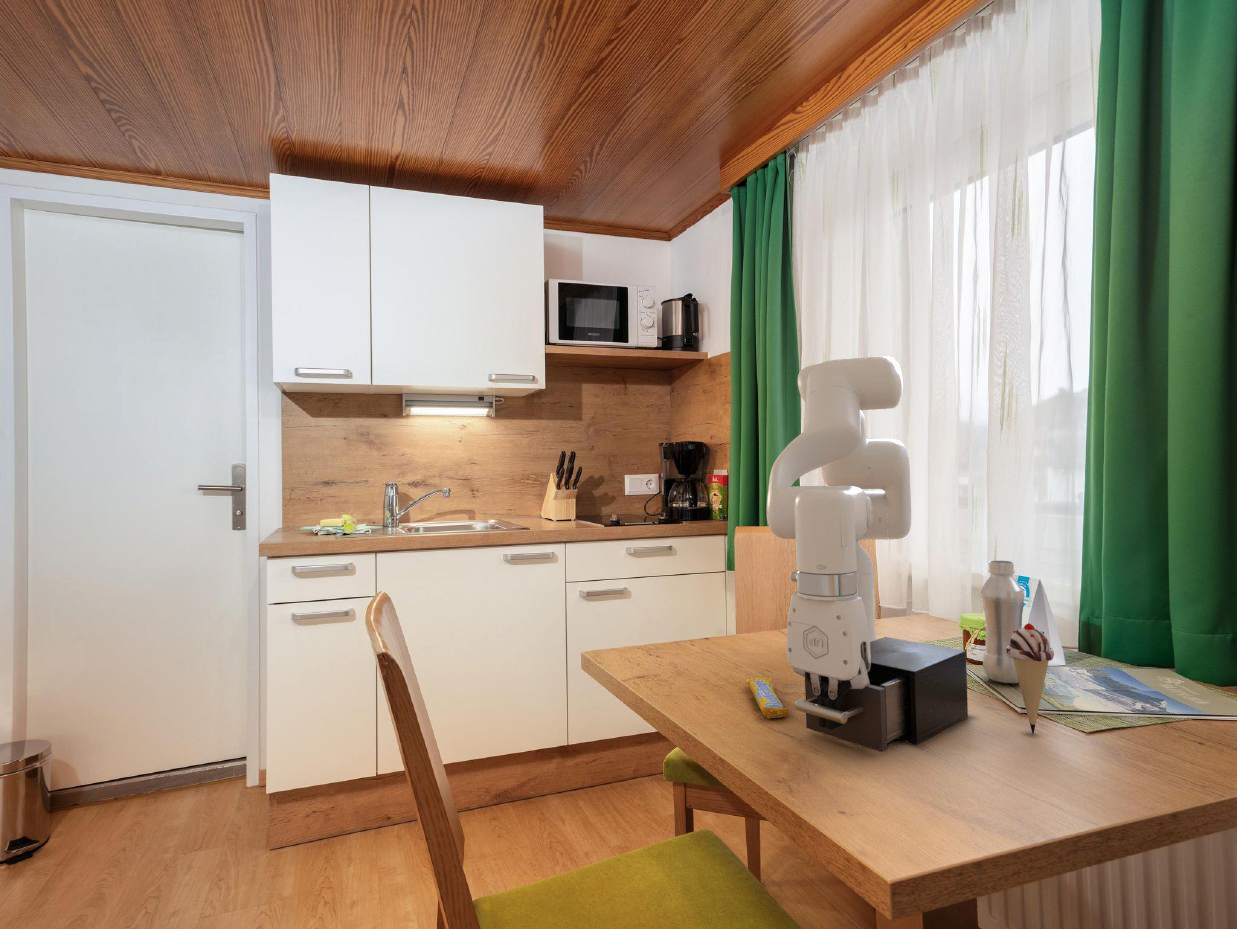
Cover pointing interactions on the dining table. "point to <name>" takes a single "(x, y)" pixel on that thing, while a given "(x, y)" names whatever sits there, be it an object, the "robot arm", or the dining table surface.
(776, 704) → the candy bar
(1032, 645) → the ice cream cone
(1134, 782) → the dining table surface
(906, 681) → the pull-out drawer
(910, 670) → the small drawer cabinet
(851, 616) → the robot arm
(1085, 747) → the dining table surface
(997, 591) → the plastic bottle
